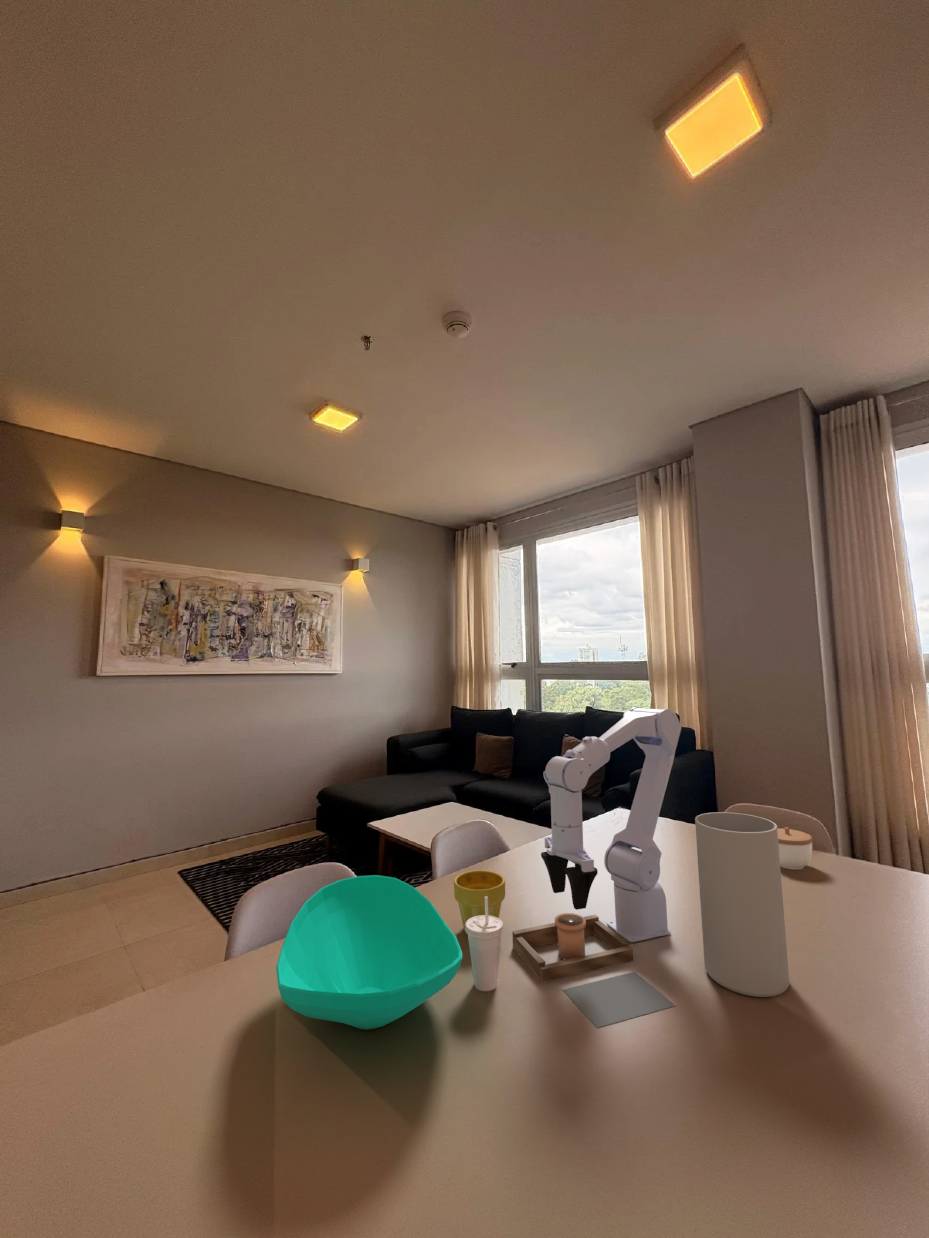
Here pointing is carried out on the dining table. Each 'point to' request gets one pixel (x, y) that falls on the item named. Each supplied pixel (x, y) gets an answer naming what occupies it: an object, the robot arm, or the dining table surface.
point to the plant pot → (479, 893)
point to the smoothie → (484, 948)
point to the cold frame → (557, 970)
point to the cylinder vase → (742, 903)
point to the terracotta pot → (570, 935)
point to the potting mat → (617, 999)
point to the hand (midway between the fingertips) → (569, 899)
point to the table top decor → (365, 953)
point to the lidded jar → (794, 848)
